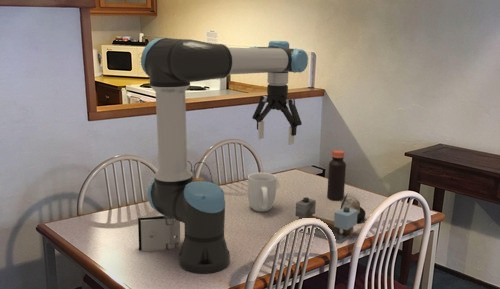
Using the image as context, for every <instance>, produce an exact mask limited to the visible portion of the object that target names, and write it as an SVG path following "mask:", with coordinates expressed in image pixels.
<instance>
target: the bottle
mask: <svg viewBox="0 0 500 289" xmlns="http://www.w3.org/2000/svg"><path fill="white" fill-rule="evenodd" d="M331 158H332V159H331V160H330V161H329V163H328V175H327V176H328V177H327V178H328V179H327V193H326V194H327V195H326V196H327V197H326V198H327V199H328V200H330V201H334V200H335V201H336V202H337V201H339V200H340V201H342V200H343V199H344V197H345V185H346V184H345V182H346V169H347V168H346V166H347V164H346V162H345V161H344V158H345V151H344V150H339V149H338V150H337V149H336V150H332V151H331Z"/></svg>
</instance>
